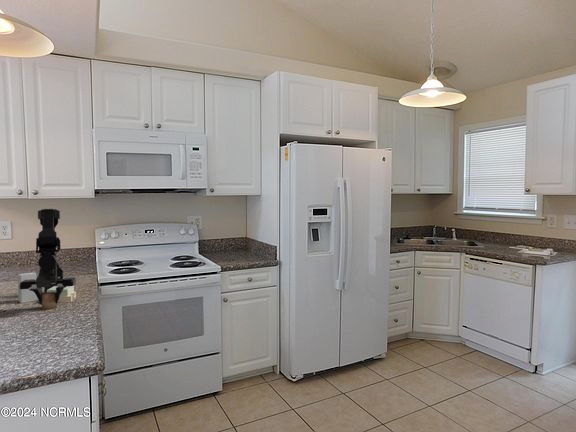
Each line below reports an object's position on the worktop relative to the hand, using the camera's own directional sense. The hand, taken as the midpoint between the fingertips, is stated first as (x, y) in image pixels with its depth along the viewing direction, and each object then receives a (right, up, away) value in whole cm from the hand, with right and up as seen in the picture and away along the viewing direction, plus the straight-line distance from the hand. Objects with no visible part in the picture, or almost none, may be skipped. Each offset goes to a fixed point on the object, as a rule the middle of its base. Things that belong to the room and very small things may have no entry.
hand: (49, 304), depth 154 cm
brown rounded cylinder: (0, -2, 0) cm, 2 cm away
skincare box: (-16, -1, +11) cm, 19 cm away
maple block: (-3, -2, +13) cm, 13 cm away
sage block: (-3, +1, +13) cm, 13 cm away
